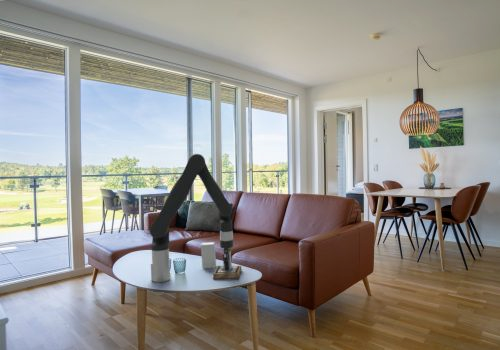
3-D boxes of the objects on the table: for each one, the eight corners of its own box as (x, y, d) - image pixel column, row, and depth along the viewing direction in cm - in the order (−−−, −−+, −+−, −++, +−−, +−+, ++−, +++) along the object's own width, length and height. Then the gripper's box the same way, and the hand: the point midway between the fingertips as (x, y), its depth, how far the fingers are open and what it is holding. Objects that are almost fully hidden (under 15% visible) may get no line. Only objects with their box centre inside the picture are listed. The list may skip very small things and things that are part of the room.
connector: (223, 273, 185) (223, 256, 185) (224, 271, 189) (224, 254, 189) (230, 273, 185) (230, 256, 185) (231, 271, 189) (231, 254, 189)
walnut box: (213, 279, 181) (213, 273, 181) (218, 270, 195) (217, 265, 195) (238, 279, 180) (238, 273, 179) (241, 270, 194) (241, 265, 193)
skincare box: (216, 265, 206) (215, 241, 205) (215, 268, 200) (214, 244, 199) (202, 265, 205) (201, 242, 205) (201, 268, 199) (200, 244, 199)
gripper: (222, 235, 194) (223, 264, 195) (217, 241, 180) (218, 272, 180) (234, 235, 193) (235, 264, 194) (231, 241, 179) (232, 272, 180)
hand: (227, 268), depth 187 cm, fingers closed on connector, 4 cm apart
